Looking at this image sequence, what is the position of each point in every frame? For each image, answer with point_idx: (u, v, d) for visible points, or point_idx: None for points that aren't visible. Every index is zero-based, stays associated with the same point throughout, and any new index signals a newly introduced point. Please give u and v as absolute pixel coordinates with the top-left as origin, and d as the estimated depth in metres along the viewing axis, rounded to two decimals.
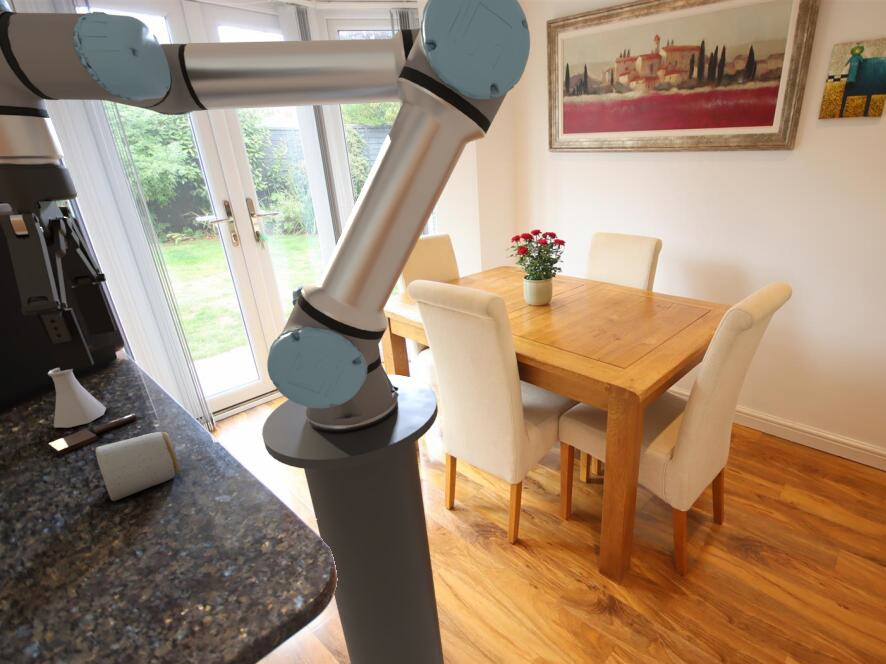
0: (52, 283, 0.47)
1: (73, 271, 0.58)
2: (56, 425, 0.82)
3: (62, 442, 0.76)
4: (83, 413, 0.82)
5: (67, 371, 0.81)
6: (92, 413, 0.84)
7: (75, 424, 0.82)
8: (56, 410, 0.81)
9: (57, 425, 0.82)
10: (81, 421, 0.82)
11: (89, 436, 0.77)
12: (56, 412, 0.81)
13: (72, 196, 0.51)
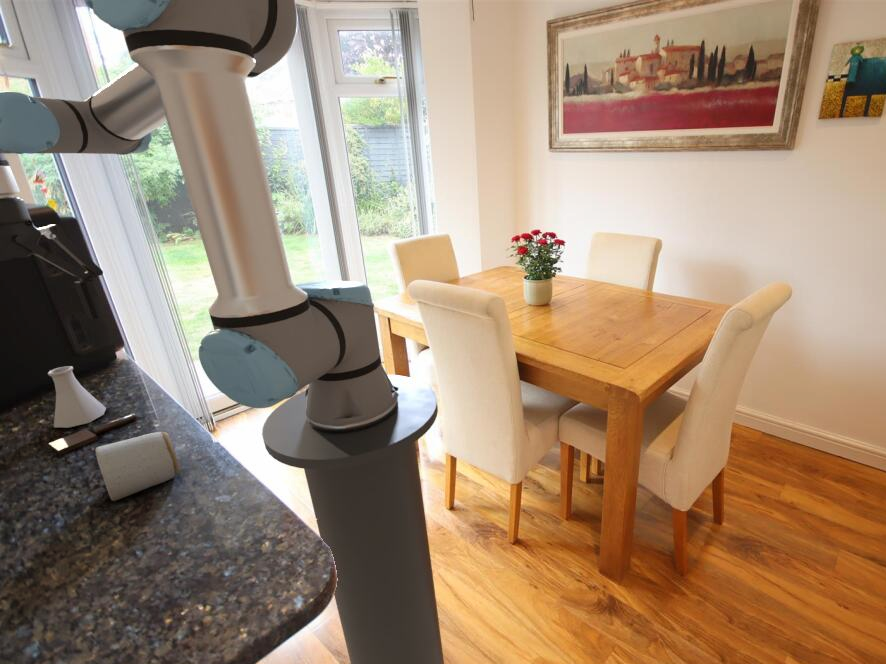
0: None
1: (66, 271, 0.79)
2: (56, 425, 0.82)
3: (62, 442, 0.76)
4: (83, 413, 0.82)
5: (67, 371, 0.81)
6: (92, 413, 0.84)
7: (75, 424, 0.82)
8: (56, 410, 0.81)
9: (57, 425, 0.82)
10: (81, 421, 0.82)
11: (89, 436, 0.77)
12: (56, 412, 0.81)
13: None
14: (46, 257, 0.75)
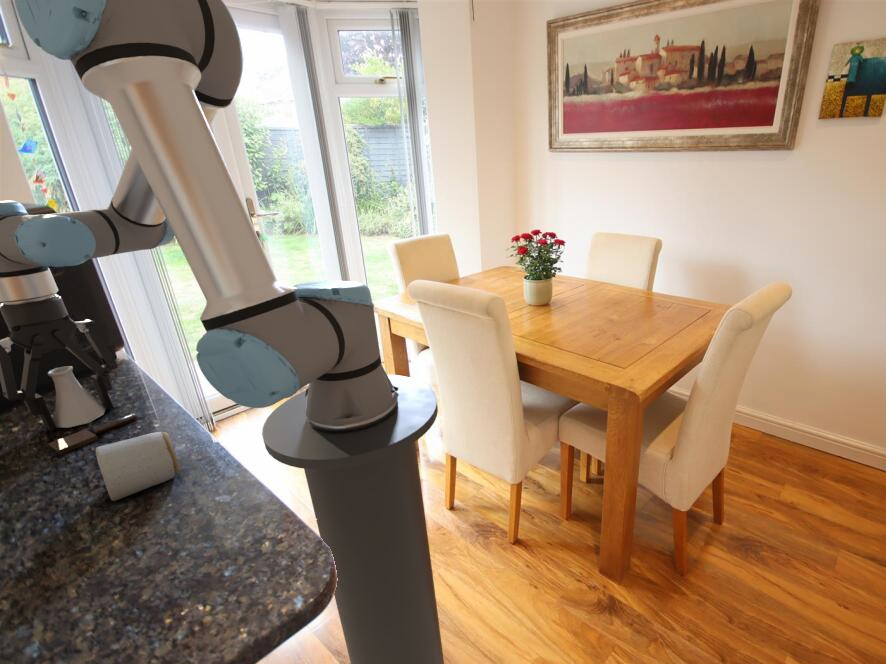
0: (10, 385, 0.75)
1: (86, 364, 0.84)
2: (56, 425, 0.82)
3: (62, 442, 0.76)
4: (83, 413, 0.82)
5: (67, 371, 0.81)
6: (92, 413, 0.84)
7: (75, 424, 0.82)
8: (56, 410, 0.81)
9: (57, 425, 0.82)
10: (81, 421, 0.82)
11: (89, 436, 0.77)
12: (56, 412, 0.81)
13: (38, 323, 0.75)
14: (74, 351, 0.82)
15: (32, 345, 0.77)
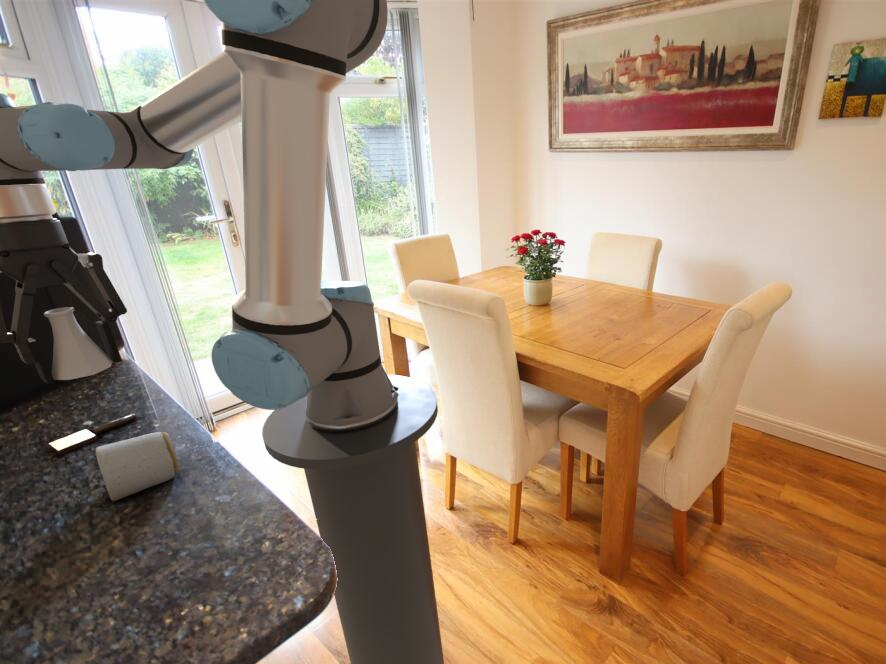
0: None
1: (90, 307, 0.71)
2: (54, 377, 0.68)
3: (62, 442, 0.76)
4: (86, 363, 0.69)
5: (67, 312, 0.67)
6: (97, 364, 0.70)
7: (77, 376, 0.68)
8: (54, 359, 0.68)
9: (55, 377, 0.68)
10: (84, 373, 0.69)
11: (89, 436, 0.77)
12: (54, 361, 0.68)
13: (32, 248, 0.62)
14: (76, 288, 0.68)
15: (24, 276, 0.63)
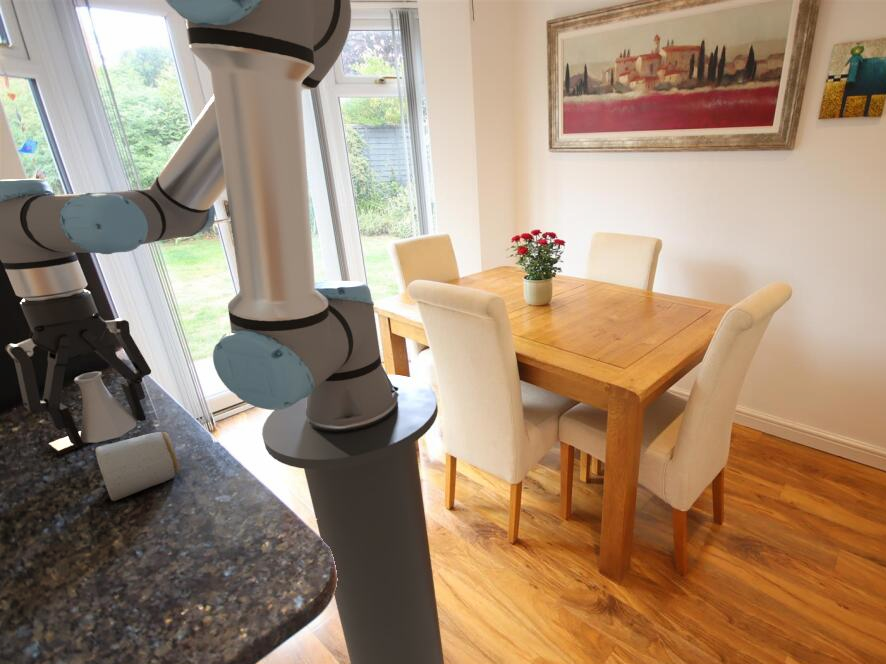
0: (32, 395, 0.65)
1: (116, 370, 0.74)
2: (82, 440, 0.71)
3: (62, 442, 0.76)
4: (113, 425, 0.72)
5: (96, 378, 0.70)
6: (123, 425, 0.73)
7: (104, 438, 0.71)
8: (83, 422, 0.71)
9: (84, 440, 0.71)
10: (111, 435, 0.72)
11: None
12: (83, 425, 0.71)
13: (65, 322, 0.65)
14: (104, 354, 0.71)
15: (57, 348, 0.66)
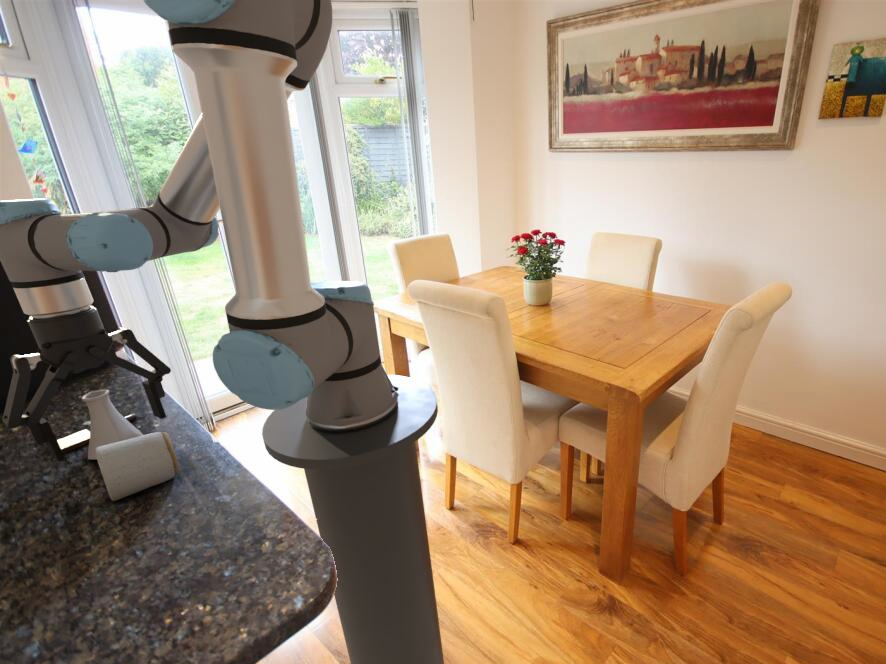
0: (16, 408, 0.63)
1: (135, 373, 0.76)
2: (90, 457, 0.72)
3: (62, 442, 0.76)
4: None
5: (103, 396, 0.71)
6: None
7: None
8: (90, 440, 0.72)
9: (91, 457, 0.72)
10: None
11: (89, 436, 0.77)
12: (90, 442, 0.72)
13: (72, 339, 0.66)
14: (118, 363, 0.72)
15: None
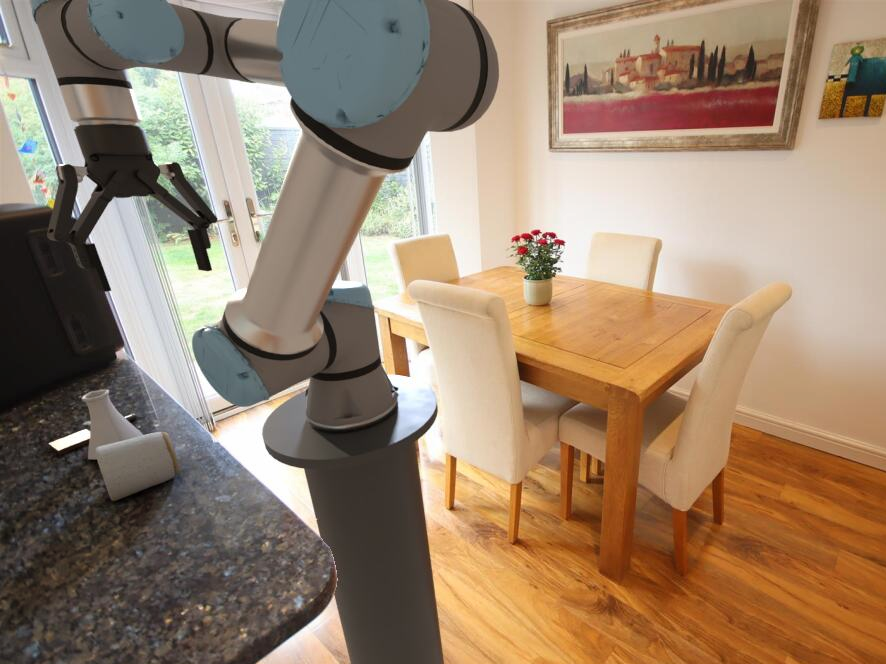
0: (63, 220, 0.59)
1: (181, 216, 0.71)
2: (90, 457, 0.72)
3: (62, 442, 0.76)
4: None
5: (103, 396, 0.71)
6: None
7: None
8: (90, 440, 0.72)
9: (91, 457, 0.72)
10: None
11: (89, 436, 0.77)
12: (90, 442, 0.72)
13: (122, 152, 0.61)
14: (165, 197, 0.68)
15: (112, 183, 0.62)
